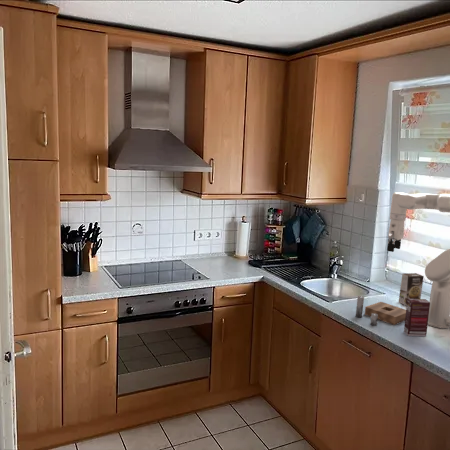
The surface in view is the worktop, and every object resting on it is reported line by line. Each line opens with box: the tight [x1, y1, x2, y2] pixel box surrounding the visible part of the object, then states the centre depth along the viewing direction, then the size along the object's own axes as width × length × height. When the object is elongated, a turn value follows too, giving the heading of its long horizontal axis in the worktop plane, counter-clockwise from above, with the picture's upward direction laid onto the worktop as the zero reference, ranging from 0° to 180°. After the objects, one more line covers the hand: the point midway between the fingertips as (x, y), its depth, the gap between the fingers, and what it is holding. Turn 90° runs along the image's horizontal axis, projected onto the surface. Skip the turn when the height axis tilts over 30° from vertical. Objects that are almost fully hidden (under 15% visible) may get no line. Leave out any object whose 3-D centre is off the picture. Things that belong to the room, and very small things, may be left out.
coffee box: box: [398, 272, 425, 307], centre depth 250 cm, size 9×6×16 cm
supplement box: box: [403, 298, 430, 337], centre depth 208 cm, size 9×5×16 cm, turn 92°
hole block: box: [364, 301, 406, 326], centre depth 229 cm, size 16×14×4 cm
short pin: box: [369, 313, 379, 327], centre depth 218 cm, size 3×3×5 cm
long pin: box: [355, 295, 365, 318], centre depth 227 cm, size 3×3×10 cm
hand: (393, 249), depth 239 cm, fingers open, 9 cm apart
